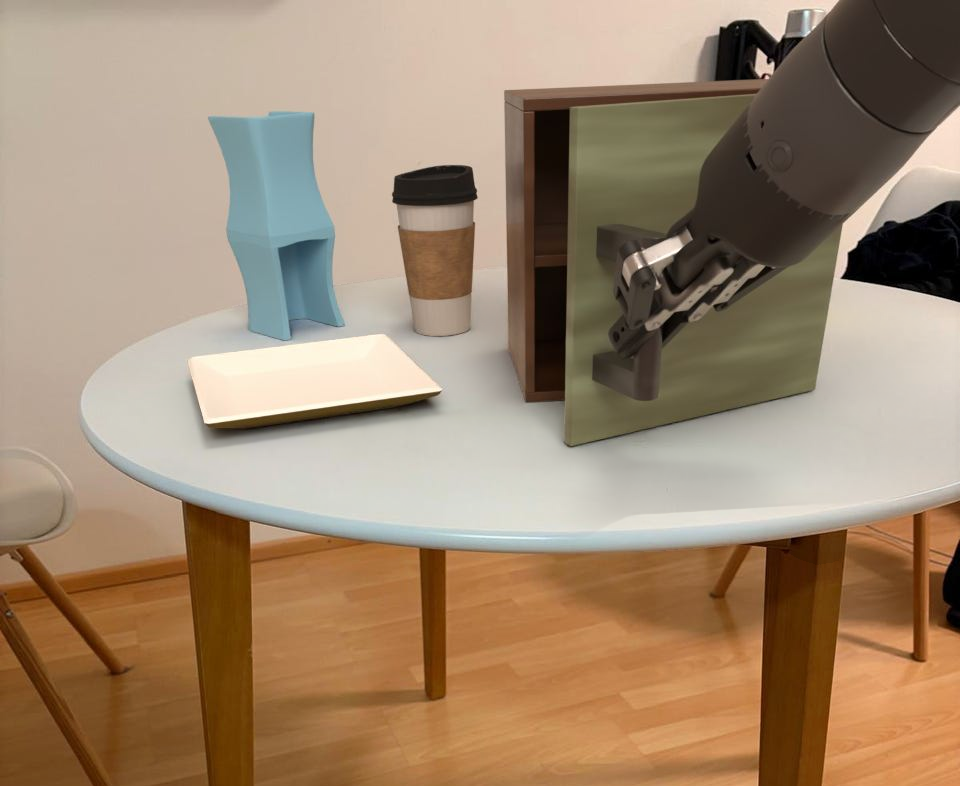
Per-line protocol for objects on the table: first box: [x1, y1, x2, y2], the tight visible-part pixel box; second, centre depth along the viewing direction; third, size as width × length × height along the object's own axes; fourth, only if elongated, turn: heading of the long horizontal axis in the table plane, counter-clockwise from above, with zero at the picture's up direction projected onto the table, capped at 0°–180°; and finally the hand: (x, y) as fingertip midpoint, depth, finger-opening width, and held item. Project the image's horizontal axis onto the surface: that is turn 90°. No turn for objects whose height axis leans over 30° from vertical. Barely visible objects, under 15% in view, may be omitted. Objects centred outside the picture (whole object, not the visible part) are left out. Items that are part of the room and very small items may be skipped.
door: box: [563, 94, 844, 447], centre depth 63 cm, size 7×24×21 cm, turn 117°
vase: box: [207, 110, 346, 342], centre depth 93 cm, size 8×8×20 cm
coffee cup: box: [391, 164, 479, 337], centre depth 92 cm, size 8×8×15 cm
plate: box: [187, 333, 443, 430], centre depth 78 cm, size 19×19×2 cm
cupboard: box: [503, 78, 769, 403], centre depth 76 cm, size 16×24×22 cm
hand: (632, 342), depth 60 cm, fingers closed on door, 2 cm apart
